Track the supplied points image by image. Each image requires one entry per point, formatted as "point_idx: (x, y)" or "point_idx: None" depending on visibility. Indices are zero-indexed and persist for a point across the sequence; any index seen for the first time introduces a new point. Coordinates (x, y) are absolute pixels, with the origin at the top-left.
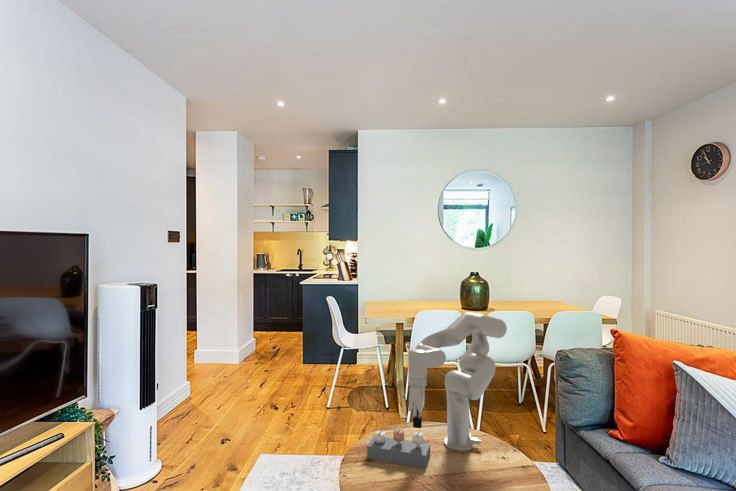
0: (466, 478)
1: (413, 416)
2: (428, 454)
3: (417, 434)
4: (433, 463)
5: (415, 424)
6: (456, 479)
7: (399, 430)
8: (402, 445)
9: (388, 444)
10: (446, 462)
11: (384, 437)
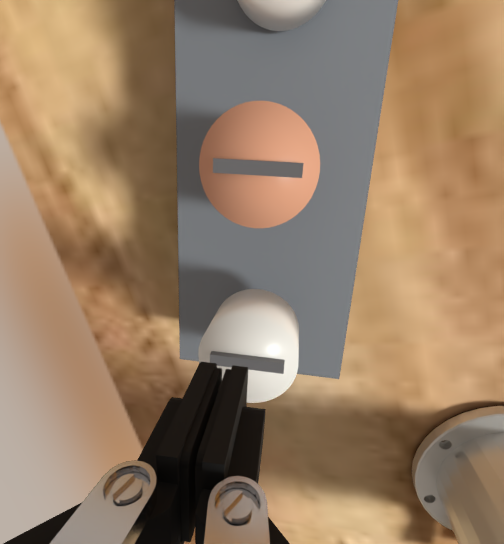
0: None
1: (97, 489)
2: None
3: (225, 360)
4: None
5: (165, 415)
6: None
7: (265, 174)
8: None
9: (257, 76)
10: (292, 407)
11: (258, 9)
